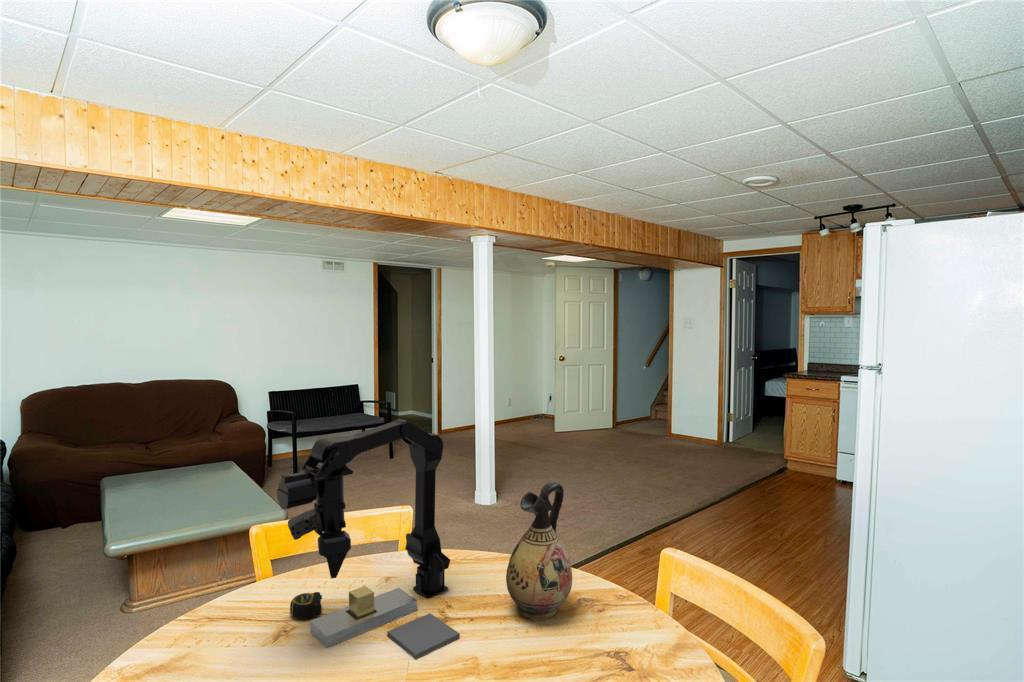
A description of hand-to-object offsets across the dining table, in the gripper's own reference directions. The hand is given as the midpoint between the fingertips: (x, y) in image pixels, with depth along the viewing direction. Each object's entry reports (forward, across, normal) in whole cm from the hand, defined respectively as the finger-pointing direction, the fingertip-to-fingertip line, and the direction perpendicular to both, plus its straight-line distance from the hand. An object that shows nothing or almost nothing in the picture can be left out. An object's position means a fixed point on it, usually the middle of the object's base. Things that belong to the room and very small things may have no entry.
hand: (331, 568), depth 119 cm
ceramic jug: (+14, +10, +46) cm, 49 cm away
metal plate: (+14, -1, +7) cm, 15 cm away
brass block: (+14, 0, +6) cm, 15 cm away
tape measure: (+14, -10, -4) cm, 17 cm away
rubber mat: (+14, +10, +18) cm, 25 cm away
